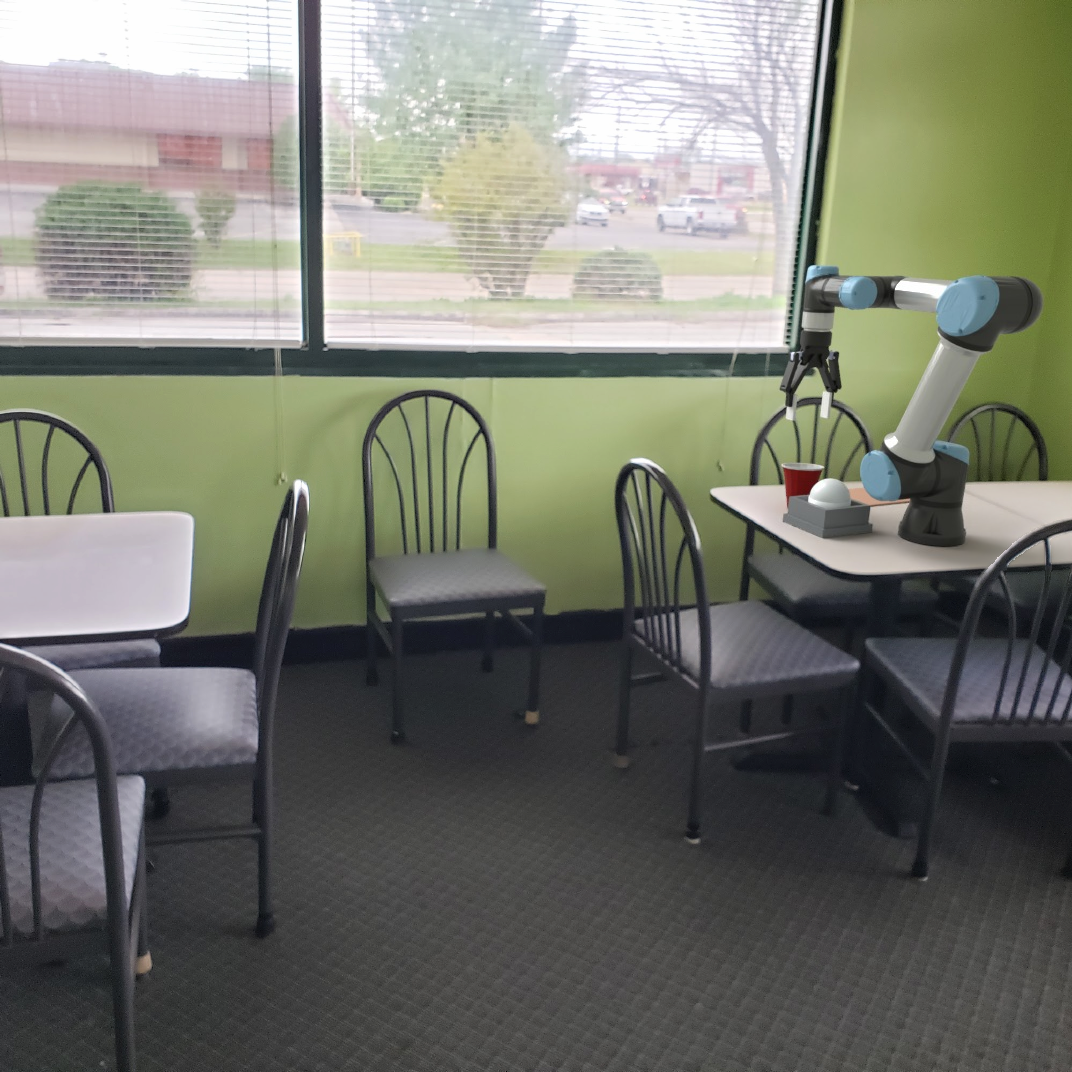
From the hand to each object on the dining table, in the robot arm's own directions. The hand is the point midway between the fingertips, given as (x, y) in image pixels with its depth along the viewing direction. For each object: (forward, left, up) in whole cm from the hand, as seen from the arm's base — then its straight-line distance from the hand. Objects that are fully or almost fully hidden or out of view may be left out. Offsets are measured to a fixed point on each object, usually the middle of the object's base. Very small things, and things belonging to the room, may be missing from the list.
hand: (807, 418), depth 260 cm
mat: (+4, -28, -24) cm, 37 cm away
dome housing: (-16, +4, -24) cm, 29 cm away
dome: (-16, +4, -21) cm, 27 cm away
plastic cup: (0, 0, -24) cm, 24 cm away
